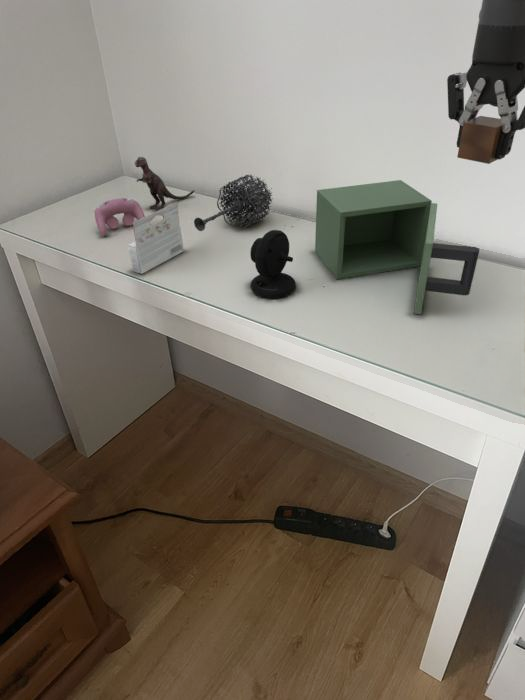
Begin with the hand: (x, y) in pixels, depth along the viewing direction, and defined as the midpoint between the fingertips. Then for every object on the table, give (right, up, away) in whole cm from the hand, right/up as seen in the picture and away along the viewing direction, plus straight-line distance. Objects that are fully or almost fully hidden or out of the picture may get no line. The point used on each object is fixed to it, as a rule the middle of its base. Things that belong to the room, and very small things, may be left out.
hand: (481, 154), depth 78 cm
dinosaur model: (-54, +4, +42) cm, 69 cm away
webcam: (-31, -19, +9) cm, 37 cm away
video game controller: (-62, -4, +32) cm, 69 cm away
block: (0, 0, 0) cm, 0 cm away
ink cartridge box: (-51, -13, +19) cm, 56 cm away
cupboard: (-14, -13, +17) cm, 25 cm away
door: (-4, -20, +6) cm, 21 cm away
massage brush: (-38, -4, +30) cm, 48 cm away
